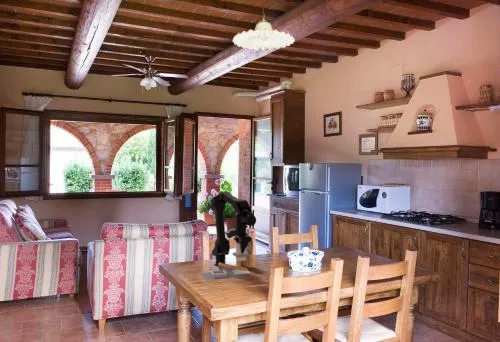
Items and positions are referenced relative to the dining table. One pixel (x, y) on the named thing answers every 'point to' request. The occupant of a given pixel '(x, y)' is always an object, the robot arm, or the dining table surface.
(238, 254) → the plug
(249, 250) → the candy box
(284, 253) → the dining table surface
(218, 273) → the socket board
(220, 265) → the clip
